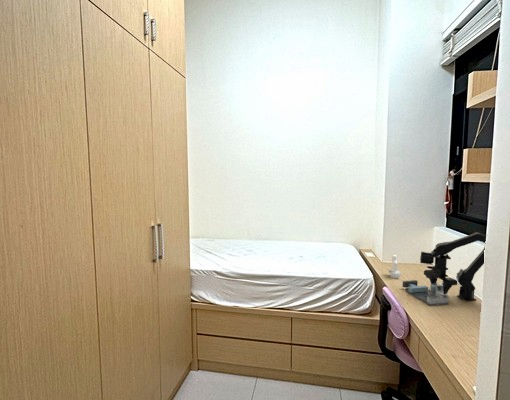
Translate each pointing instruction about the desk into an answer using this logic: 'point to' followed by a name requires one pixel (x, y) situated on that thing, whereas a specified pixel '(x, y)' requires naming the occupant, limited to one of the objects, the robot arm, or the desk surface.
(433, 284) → the steel block
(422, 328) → the desk surface
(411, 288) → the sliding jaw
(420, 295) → the vise base
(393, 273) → the figurine
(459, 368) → the desk surface
